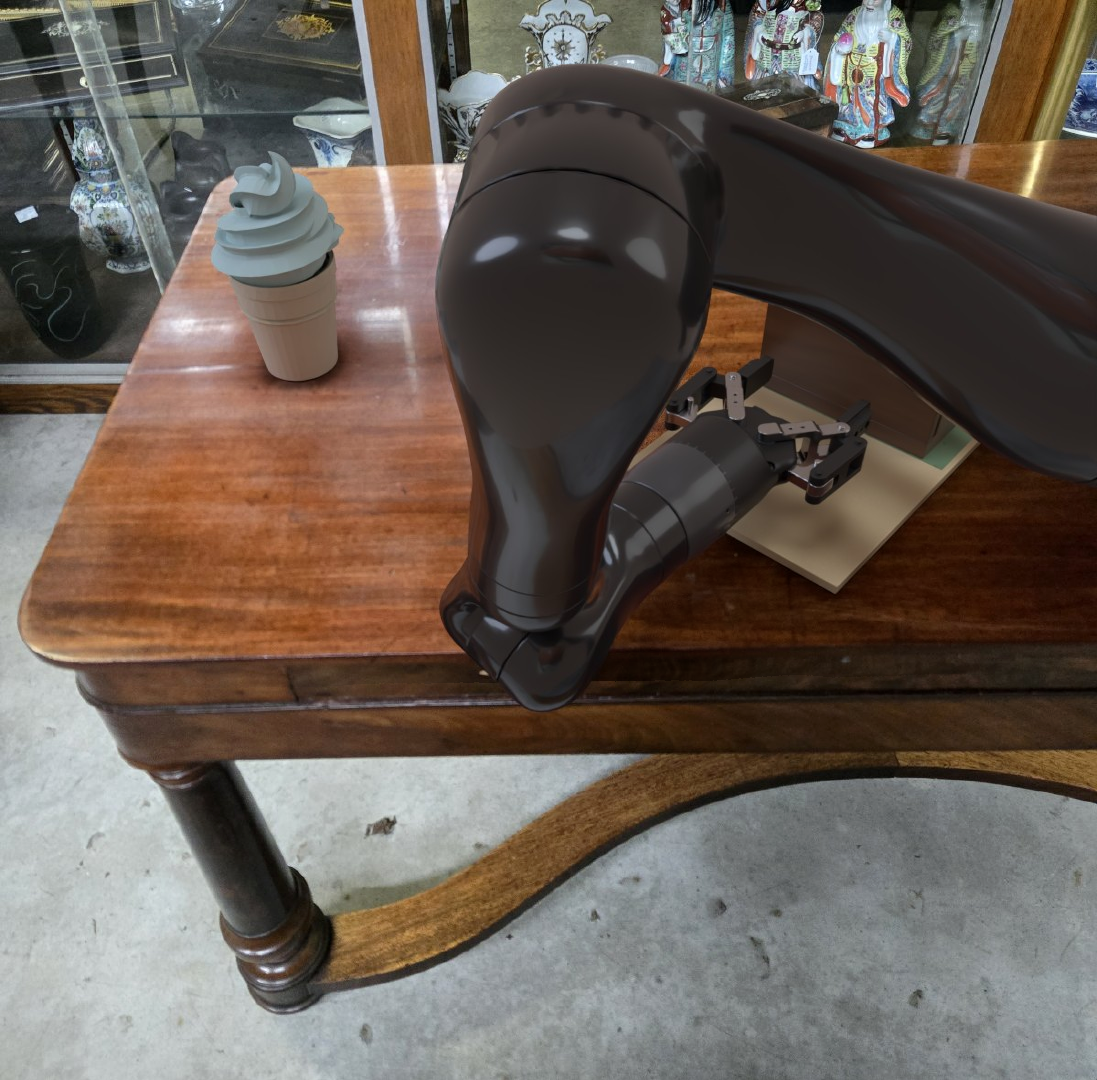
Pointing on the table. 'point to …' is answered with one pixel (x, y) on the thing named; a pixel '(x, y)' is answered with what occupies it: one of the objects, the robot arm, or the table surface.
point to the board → (838, 499)
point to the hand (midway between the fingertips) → (815, 387)
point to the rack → (846, 382)
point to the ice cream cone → (282, 267)
